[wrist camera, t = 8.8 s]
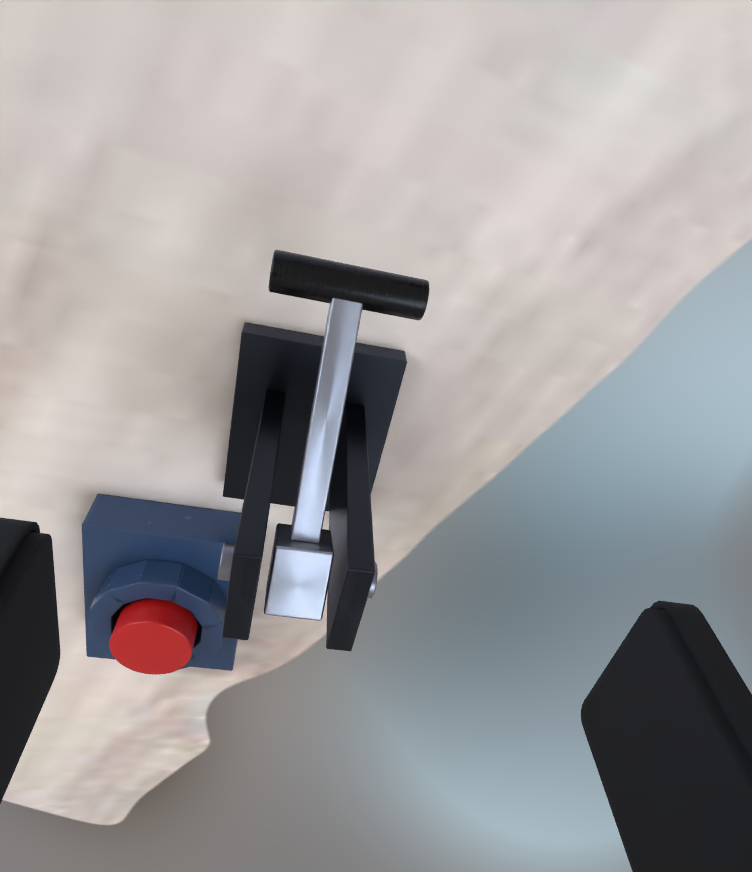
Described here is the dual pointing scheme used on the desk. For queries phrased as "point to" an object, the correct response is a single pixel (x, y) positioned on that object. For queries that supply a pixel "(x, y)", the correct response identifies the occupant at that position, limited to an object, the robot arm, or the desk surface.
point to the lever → (326, 415)
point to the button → (153, 636)
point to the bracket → (282, 461)
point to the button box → (157, 569)
